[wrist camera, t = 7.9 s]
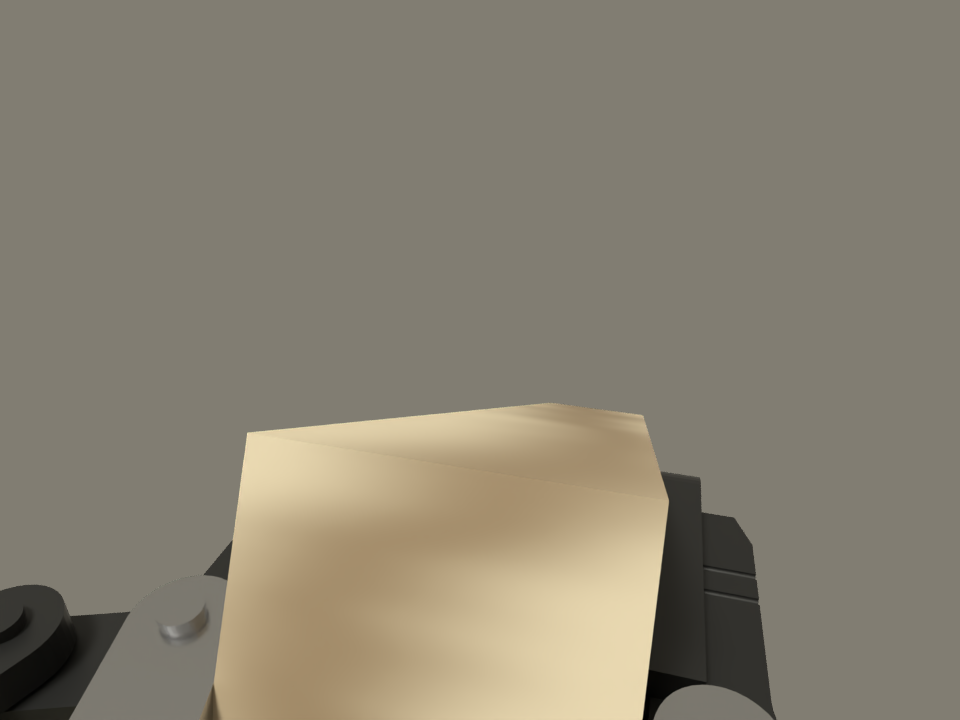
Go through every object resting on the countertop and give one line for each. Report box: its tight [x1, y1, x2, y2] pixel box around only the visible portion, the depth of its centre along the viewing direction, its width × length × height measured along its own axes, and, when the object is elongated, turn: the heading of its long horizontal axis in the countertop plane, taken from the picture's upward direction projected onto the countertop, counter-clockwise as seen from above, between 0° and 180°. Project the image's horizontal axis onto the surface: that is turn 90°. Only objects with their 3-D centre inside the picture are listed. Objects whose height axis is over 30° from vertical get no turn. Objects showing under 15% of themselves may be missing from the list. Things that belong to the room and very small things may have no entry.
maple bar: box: [213, 403, 669, 720], centre depth 18 cm, size 4×24×5 cm, turn 167°
